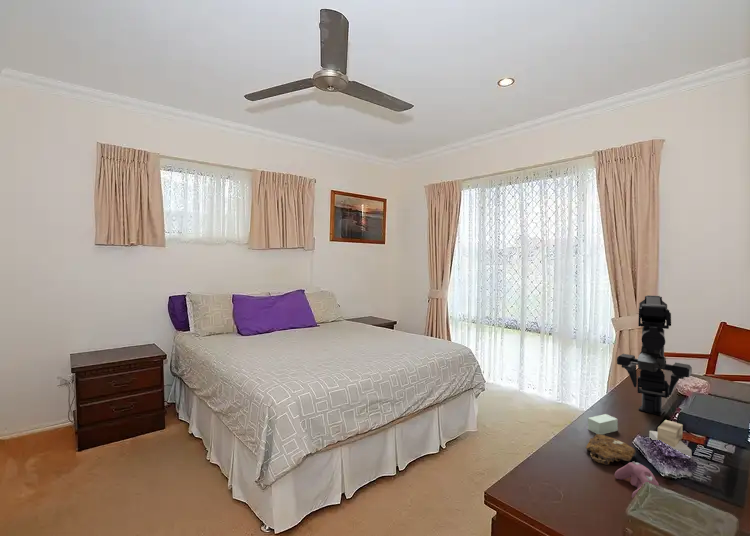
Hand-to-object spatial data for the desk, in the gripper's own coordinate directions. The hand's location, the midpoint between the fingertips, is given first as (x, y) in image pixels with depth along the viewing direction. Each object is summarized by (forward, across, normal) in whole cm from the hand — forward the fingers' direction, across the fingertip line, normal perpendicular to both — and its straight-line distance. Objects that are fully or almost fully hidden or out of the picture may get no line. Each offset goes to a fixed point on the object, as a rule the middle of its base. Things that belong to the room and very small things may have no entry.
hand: (652, 390), depth 117 cm
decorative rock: (+13, -4, -29) cm, 32 cm away
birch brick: (+10, +7, -12) cm, 17 cm away
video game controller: (+12, +5, -42) cm, 44 cm away
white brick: (+12, +7, -12) cm, 19 cm away
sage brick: (+12, -10, -14) cm, 21 cm away
